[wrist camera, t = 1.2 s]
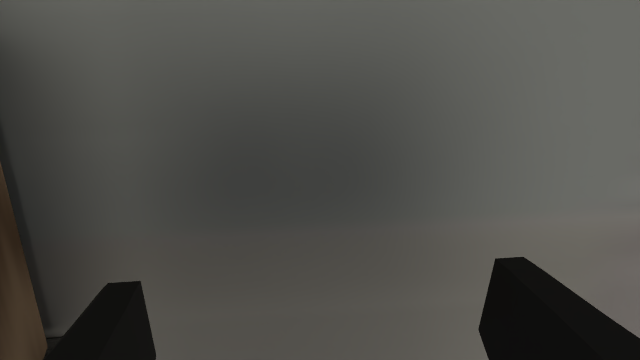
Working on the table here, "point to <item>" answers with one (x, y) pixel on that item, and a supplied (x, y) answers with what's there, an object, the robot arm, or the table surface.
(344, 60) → the table surface
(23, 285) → the flip panel
